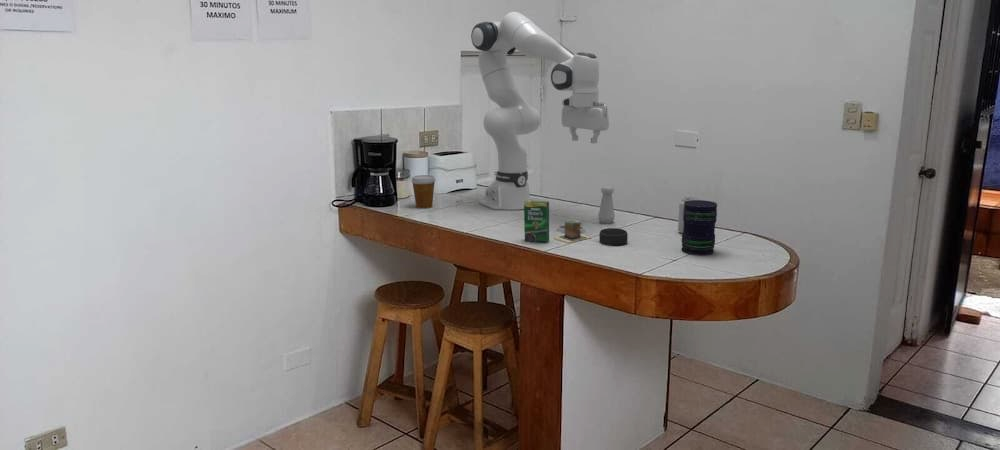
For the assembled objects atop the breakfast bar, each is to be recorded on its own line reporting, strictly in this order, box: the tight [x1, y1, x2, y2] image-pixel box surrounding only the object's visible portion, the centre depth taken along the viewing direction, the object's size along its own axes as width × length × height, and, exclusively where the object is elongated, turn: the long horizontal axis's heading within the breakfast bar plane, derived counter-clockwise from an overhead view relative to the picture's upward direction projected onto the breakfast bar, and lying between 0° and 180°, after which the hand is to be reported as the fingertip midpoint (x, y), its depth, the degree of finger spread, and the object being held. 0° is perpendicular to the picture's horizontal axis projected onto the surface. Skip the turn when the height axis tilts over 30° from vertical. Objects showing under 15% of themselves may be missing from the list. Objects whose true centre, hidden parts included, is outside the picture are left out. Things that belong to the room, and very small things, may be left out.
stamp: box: [563, 219, 582, 240], centre depth 232 cm, size 4×4×5 cm
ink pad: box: [556, 224, 586, 234], centre depth 242 cm, size 8×6×2 cm
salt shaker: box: [598, 185, 616, 225], centre depth 254 cm, size 6×6×13 cm
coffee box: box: [523, 200, 550, 244], centre depth 229 cm, size 8×3×13 cm, turn 67°
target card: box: [553, 233, 592, 244], centre depth 233 cm, size 7×10×1 cm
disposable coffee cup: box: [411, 174, 436, 209], centre depth 281 cm, size 10×10×12 cm
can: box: [677, 196, 702, 235], centre depth 238 cm, size 8×8×12 cm
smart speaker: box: [598, 227, 629, 247], centre depth 228 cm, size 9×9×4 cm
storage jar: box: [681, 199, 718, 256], centre depth 216 cm, size 10×10×15 cm
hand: (584, 141), depth 247 cm, fingers open, 8 cm apart
